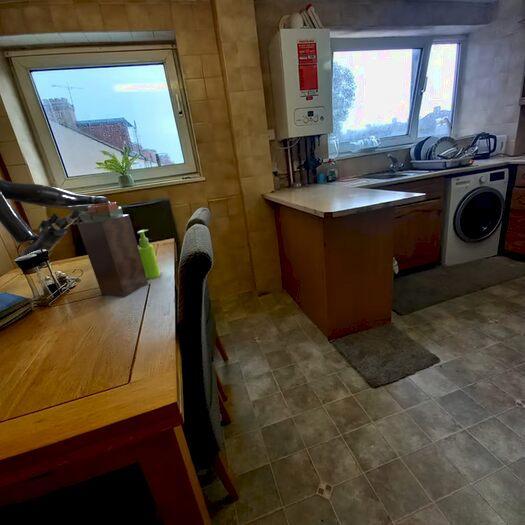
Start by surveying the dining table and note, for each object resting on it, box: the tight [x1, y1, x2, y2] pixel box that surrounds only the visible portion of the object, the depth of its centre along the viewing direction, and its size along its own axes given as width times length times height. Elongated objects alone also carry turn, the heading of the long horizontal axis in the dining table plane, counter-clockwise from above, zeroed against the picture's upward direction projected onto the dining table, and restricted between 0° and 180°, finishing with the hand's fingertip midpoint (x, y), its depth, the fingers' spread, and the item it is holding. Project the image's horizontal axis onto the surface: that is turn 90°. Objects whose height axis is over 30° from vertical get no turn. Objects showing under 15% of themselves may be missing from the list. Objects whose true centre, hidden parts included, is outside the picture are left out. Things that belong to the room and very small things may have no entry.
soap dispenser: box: [137, 228, 161, 280], centre depth 116 cm, size 6×7×20 cm
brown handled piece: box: [67, 201, 119, 215], centre depth 100 cm, size 9×22×4 cm, turn 69°
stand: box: [76, 206, 149, 298], centre depth 104 cm, size 13×13×31 cm
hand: (68, 212), depth 105 cm, fingers open, 8 cm apart
